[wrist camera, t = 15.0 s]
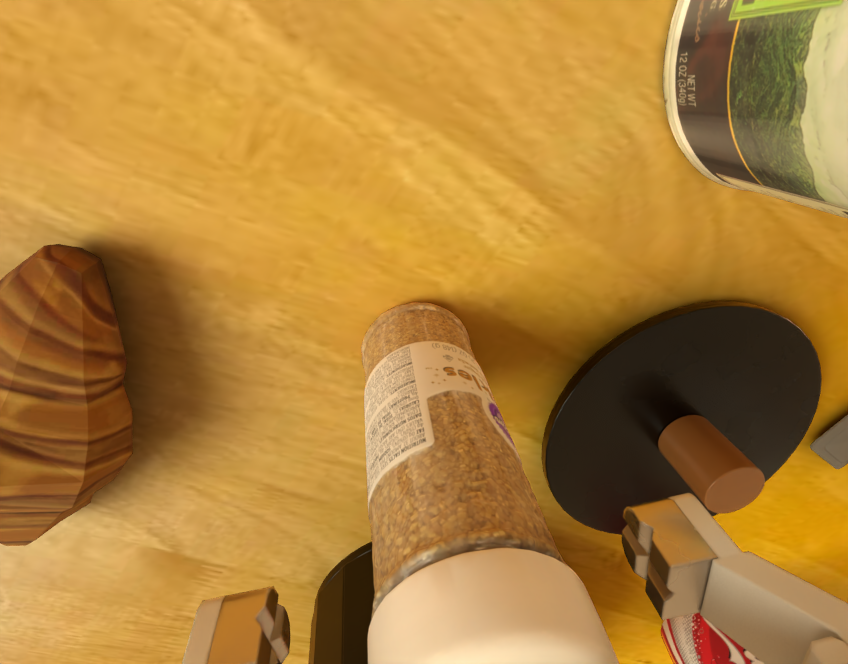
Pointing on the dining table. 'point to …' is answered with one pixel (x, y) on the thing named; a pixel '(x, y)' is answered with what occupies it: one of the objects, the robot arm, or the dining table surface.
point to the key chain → (834, 444)
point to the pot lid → (682, 412)
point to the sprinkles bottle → (458, 514)
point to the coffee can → (763, 96)
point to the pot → (344, 612)
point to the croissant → (58, 391)
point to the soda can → (701, 643)
